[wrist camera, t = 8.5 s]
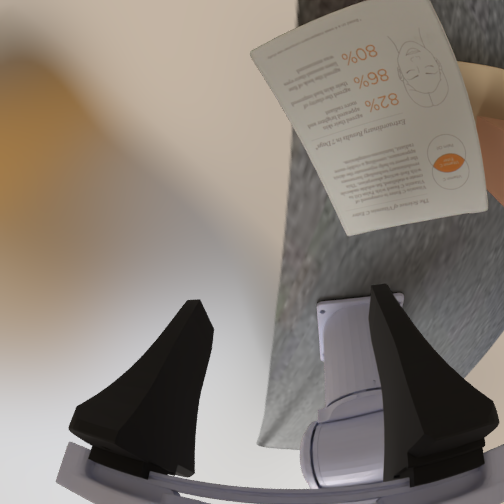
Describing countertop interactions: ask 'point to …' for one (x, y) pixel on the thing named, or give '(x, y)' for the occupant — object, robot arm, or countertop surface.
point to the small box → (380, 113)
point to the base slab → (484, 89)
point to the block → (492, 154)
